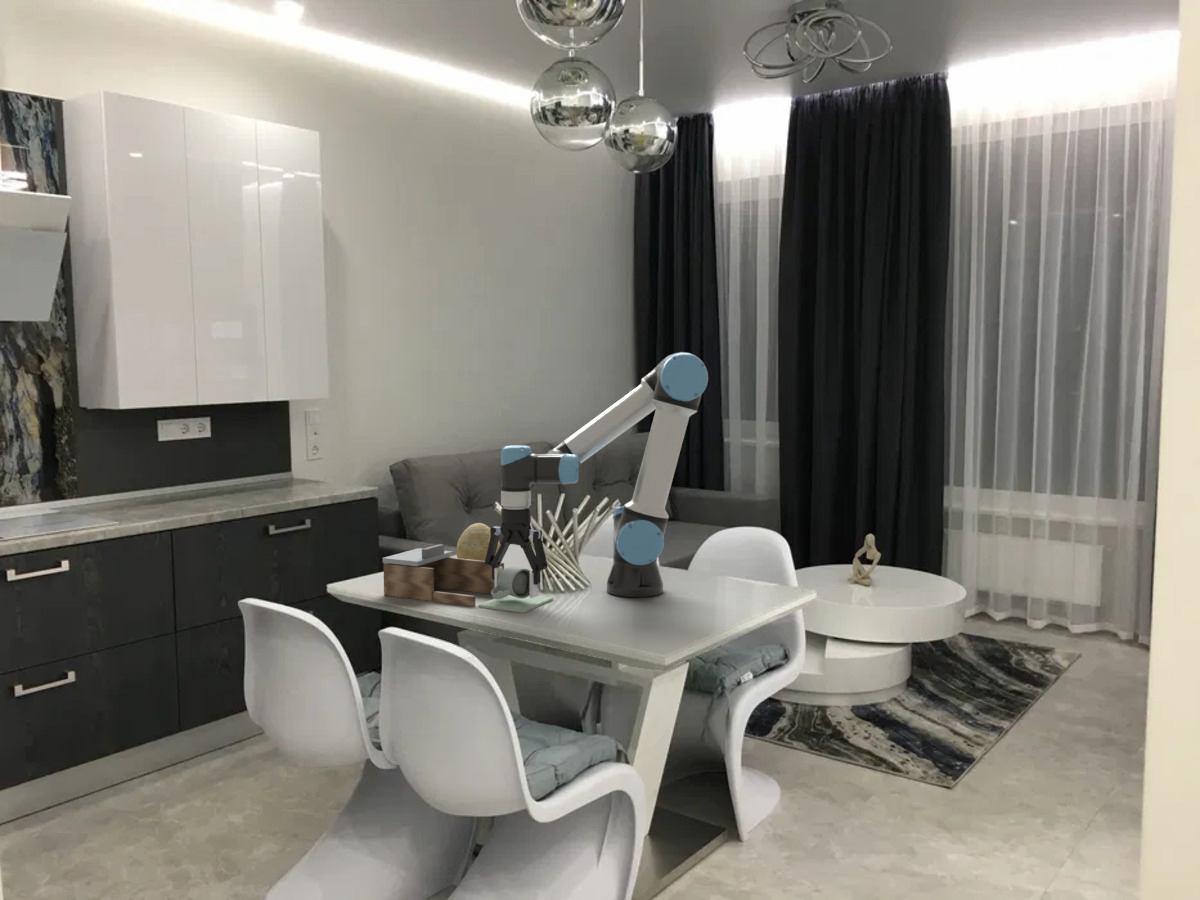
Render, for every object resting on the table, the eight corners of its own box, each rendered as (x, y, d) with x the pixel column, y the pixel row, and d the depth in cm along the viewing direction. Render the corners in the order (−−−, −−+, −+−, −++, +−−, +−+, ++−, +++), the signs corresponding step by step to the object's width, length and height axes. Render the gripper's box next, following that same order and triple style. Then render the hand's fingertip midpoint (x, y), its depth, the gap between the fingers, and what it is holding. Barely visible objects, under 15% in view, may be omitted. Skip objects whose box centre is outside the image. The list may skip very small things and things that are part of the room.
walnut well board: (504, 594, 263) (504, 562, 262) (473, 606, 250) (473, 573, 249) (417, 584, 275) (417, 554, 274) (384, 595, 261) (383, 563, 261)
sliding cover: (452, 555, 270) (452, 542, 269) (417, 566, 255) (417, 552, 255) (419, 552, 274) (418, 539, 274) (382, 562, 260) (382, 548, 260)
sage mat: (552, 600, 257) (552, 597, 257) (523, 612, 243) (523, 610, 243) (509, 594, 262) (509, 592, 262) (478, 607, 249) (478, 604, 249)
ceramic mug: (517, 590, 258) (517, 562, 257) (535, 596, 252) (535, 567, 251) (484, 596, 251) (484, 568, 251) (502, 602, 245) (501, 573, 245)
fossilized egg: (462, 569, 295) (461, 519, 294) (504, 570, 294) (504, 520, 292) (451, 578, 282) (451, 526, 281) (496, 579, 281) (495, 527, 280)
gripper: (562, 508, 249) (561, 596, 251) (486, 502, 259) (486, 587, 261) (547, 511, 243) (547, 602, 245) (470, 505, 252) (470, 593, 254)
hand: (515, 594), depth 253 cm, fingers closed on ceramic mug, 9 cm apart
